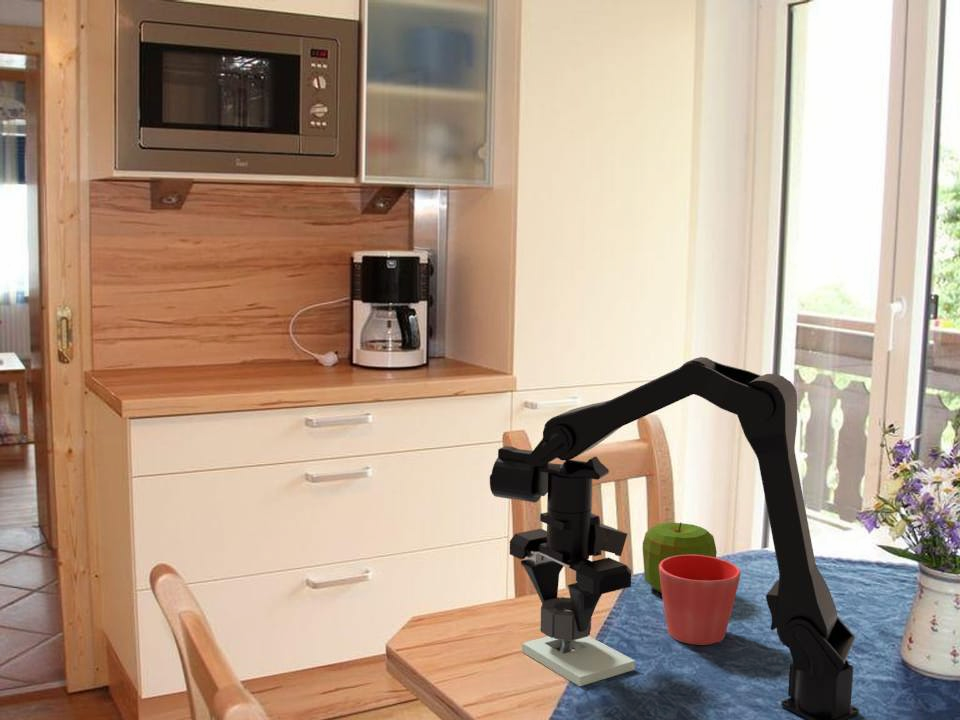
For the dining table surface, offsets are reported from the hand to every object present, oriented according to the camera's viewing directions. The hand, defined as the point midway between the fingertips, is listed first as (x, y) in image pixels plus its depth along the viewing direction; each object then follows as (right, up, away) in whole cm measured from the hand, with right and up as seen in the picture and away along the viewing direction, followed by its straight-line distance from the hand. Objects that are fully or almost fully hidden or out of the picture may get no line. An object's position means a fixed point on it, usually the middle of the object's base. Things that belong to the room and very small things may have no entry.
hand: (566, 622), depth 139 cm
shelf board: (+1, -5, -1) cm, 5 cm away
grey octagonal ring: (0, -1, 0) cm, 1 cm away
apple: (+19, -1, +25) cm, 31 cm away
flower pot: (+19, -4, +8) cm, 21 cm away
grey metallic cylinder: (0, -4, +1) cm, 4 cm away
